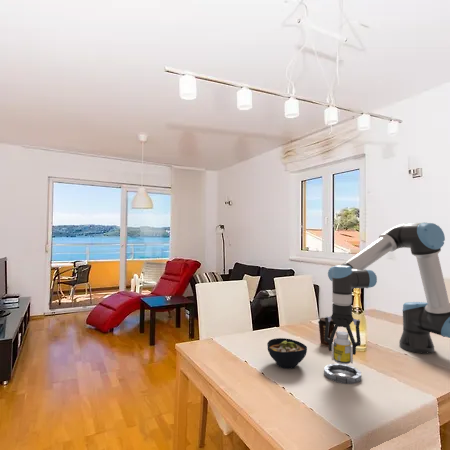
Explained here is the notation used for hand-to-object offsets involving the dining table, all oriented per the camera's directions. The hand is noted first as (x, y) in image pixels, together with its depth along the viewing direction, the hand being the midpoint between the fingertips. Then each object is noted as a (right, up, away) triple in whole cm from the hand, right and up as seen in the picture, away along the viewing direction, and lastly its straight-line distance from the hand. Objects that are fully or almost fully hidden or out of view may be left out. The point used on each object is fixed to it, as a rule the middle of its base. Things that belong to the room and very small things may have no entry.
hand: (342, 360), depth 129 cm
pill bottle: (0, -1, 0) cm, 1 cm away
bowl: (-21, -6, +10) cm, 24 cm away
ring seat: (0, -6, 0) cm, 6 cm away
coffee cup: (+6, -7, +37) cm, 38 cm away
